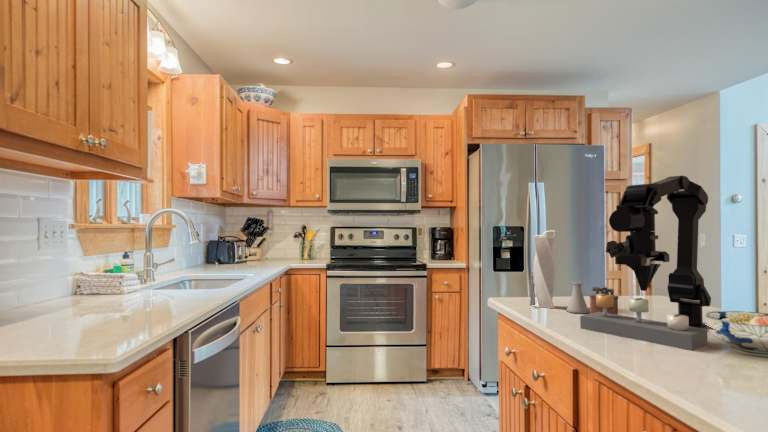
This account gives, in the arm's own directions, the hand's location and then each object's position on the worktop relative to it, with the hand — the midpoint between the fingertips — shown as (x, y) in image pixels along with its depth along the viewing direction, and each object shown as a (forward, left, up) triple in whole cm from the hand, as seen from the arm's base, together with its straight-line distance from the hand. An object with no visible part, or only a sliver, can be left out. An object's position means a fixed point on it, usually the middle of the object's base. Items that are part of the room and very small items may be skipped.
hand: (643, 290), depth 111 cm
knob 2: (0, +8, -12) cm, 14 cm away
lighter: (-12, -17, -12) cm, 24 cm away
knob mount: (0, -1, -12) cm, 12 cm away
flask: (-16, -28, -12) cm, 34 cm away
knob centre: (0, -1, -9) cm, 9 cm away
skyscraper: (-15, -40, -12) cm, 44 cm away
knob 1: (0, -10, -9) cm, 14 cm away
